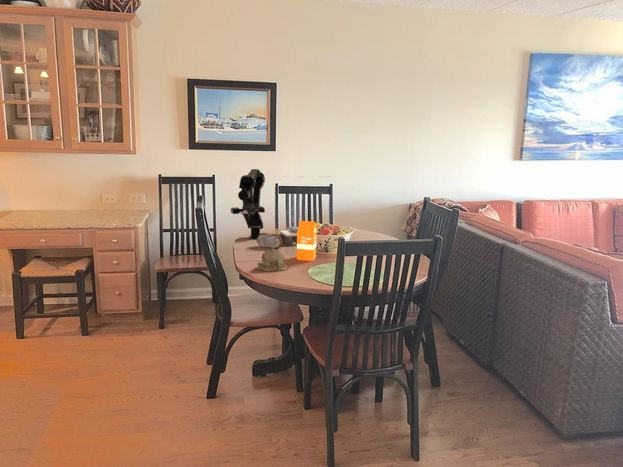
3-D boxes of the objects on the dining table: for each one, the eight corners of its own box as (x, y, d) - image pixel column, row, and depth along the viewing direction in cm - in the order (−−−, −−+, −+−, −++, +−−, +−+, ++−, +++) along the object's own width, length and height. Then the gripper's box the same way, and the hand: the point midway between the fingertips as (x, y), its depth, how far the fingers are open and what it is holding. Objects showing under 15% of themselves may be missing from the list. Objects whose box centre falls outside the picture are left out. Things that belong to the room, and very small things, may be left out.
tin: (282, 248, 266) (282, 233, 264) (280, 249, 263) (281, 235, 261) (258, 245, 269) (258, 231, 268) (256, 247, 266) (256, 232, 265)
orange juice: (313, 261, 241) (314, 223, 237) (296, 259, 243) (297, 222, 239) (315, 257, 249) (317, 220, 244) (299, 255, 250) (300, 219, 246)
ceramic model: (281, 264, 235) (282, 244, 233) (290, 270, 225) (290, 250, 223) (255, 266, 229) (255, 247, 227) (262, 273, 219) (262, 252, 217)
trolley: (277, 242, 280) (278, 227, 278) (297, 240, 285) (297, 226, 283) (284, 246, 270) (284, 231, 268) (304, 244, 276) (304, 229, 274)
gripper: (235, 200, 254) (236, 228, 257) (268, 199, 262) (267, 226, 265) (230, 197, 264) (230, 224, 267) (261, 196, 271) (261, 222, 275)
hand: (247, 224), depth 268 cm, fingers closed
